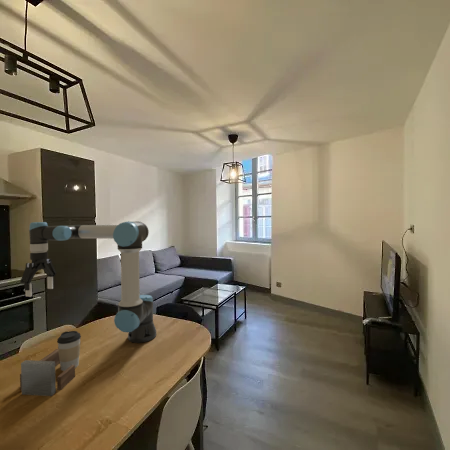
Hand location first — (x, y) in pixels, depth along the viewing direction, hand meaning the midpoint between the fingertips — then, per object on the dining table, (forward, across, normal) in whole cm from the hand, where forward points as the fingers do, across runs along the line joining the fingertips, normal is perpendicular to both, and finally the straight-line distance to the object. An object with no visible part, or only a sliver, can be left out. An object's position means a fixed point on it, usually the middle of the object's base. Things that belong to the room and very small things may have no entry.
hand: (40, 292), depth 131 cm
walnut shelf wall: (+28, +23, +28) cm, 46 cm away
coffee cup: (+28, +16, +28) cm, 43 cm away
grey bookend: (+28, +34, +29) cm, 53 cm away
